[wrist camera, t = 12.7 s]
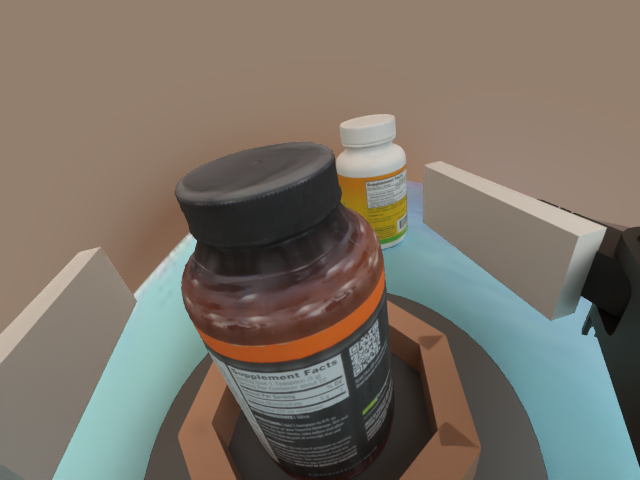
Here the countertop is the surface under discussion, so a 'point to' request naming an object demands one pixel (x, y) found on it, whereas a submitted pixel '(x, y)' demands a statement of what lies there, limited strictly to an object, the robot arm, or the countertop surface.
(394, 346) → the collar
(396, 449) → the mat
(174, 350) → the countertop surface
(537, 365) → the countertop surface
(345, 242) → the supplement bottle
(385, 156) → the supplement bottle
